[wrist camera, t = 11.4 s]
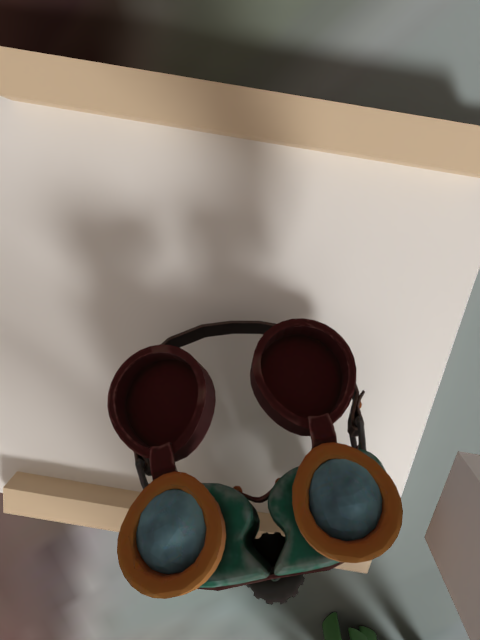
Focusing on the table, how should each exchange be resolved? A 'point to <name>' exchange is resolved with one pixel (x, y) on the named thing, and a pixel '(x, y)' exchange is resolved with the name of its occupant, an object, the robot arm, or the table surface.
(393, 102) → the table surface
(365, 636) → the daffodil flowers
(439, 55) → the table surface
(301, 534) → the binoculars
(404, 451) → the display riser
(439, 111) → the table surface
